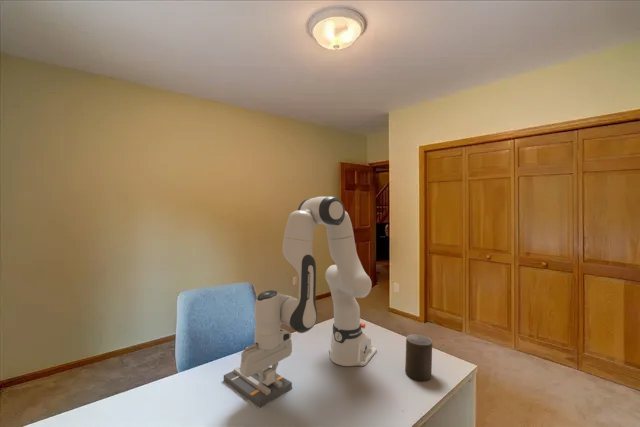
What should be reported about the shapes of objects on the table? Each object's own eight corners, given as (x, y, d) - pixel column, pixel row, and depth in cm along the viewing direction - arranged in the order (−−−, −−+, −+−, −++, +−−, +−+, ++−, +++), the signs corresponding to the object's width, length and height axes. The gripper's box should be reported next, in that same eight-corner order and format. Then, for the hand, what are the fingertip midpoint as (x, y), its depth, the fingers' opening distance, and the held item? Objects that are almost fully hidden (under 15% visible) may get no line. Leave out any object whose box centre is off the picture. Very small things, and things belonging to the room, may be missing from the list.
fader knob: (267, 380, 105) (267, 365, 105) (274, 385, 103) (274, 369, 102) (260, 384, 103) (260, 369, 103) (267, 389, 100) (267, 373, 100)
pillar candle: (418, 384, 107) (419, 343, 107) (399, 370, 116) (400, 333, 116) (437, 377, 112) (438, 338, 111) (417, 365, 120) (418, 328, 120)
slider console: (254, 365, 119) (254, 357, 119) (291, 388, 105) (291, 379, 105) (223, 380, 109) (223, 372, 109) (259, 408, 94) (259, 398, 94)
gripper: (247, 352, 92) (247, 395, 93) (294, 331, 108) (294, 368, 108) (236, 346, 97) (236, 387, 97) (283, 327, 112) (283, 362, 112)
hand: (267, 377), depth 103 cm, fingers closed on fader knob, 3 cm apart
